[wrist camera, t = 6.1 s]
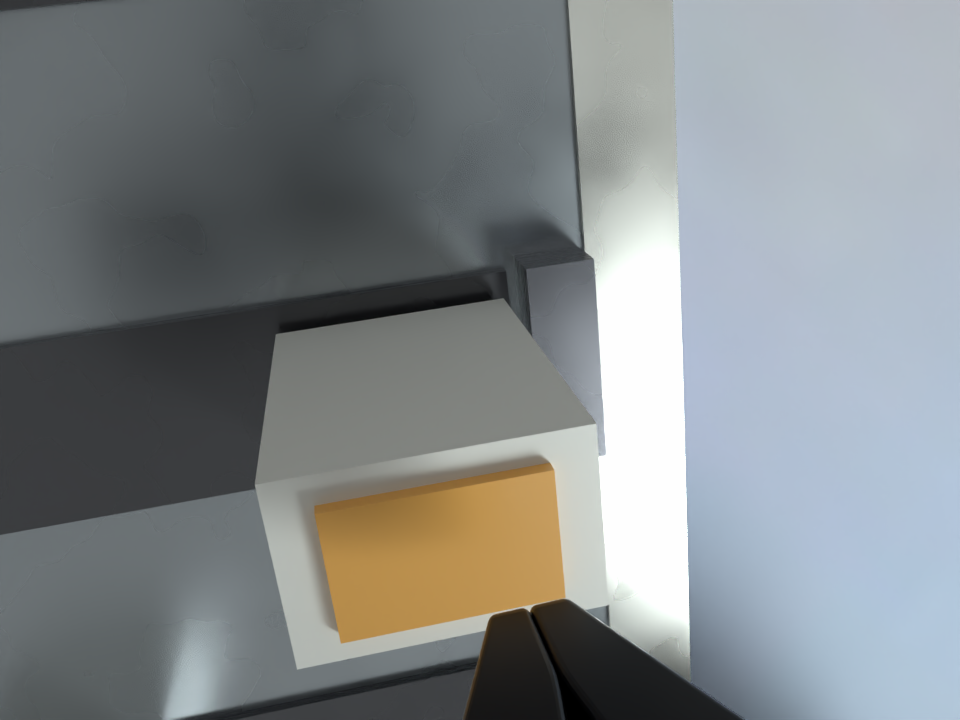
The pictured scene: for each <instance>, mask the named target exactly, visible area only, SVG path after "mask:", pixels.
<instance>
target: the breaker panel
mask: <svg viewBox="0 0 960 720" xmlns="http://www.w3.org/2000/svg"><path fill="white" fill-rule="evenodd" d="M502 298H504V300H505V301H506V302H507V304H508V305H509V306H510V308H511V309H512V310H513V312H514V313H515V314H516V316H517V317H518V318H519V320H520V321H521V323H522V324H523V325H524V327H525V328H526V329H527V331H528V332H529V333H530V335H531V336H532V337H533V339H534V340H535V341H536V343H537V344H538V345H539V347H540V348H541V349H542V351H543V352H544V353H545V355H546V356H547V358H548V359H549V360H550V362H551V363H552V364H553V366H554V367H555V368H556V370H557V371H558V372H559V374H560V375H561V376H562V378H563V379H564V380H565V382H566V383H567V384H568V386H569V387H570V388H571V390H572V391H573V393H574V394H575V395H576V397H577V398H578V399H579V401H580V402H581V403H582V405H583V406H584V407H585V409H586V410H587V411H588V413H589V414H590V415H591V417H592V418H593V419H594V421H595V422H596V423H597V438H598V453H599V468H600V483H601V497H602V512H603V527H604V542H605V557H606V572H607V587H608V602H609V605H607V606H602V607H597V608H593V609H588V610H586V611H587V612H589V613H590V614H591V615H593V616H594V617H596V618H597V619H599V620H600V621H602V622H603V623H605V624H606V625H608V626H609V627H610V628H612V629H613V630H615V631H616V632H618V633H619V634H621V635H622V636H624V637H625V638H627V639H628V640H629V641H631V642H632V643H634V644H635V645H637V646H638V647H640V648H641V649H643V650H644V651H646V652H647V653H648V654H650V655H651V656H653V657H654V658H656V659H657V660H659V661H660V662H662V663H663V664H665V665H666V666H667V667H669V668H670V669H672V670H673V671H675V672H676V673H678V674H679V675H681V676H682V677H684V678H685V679H686V680H688V681H689V682H691V664H690V627H689V590H688V553H687V516H686V478H685V441H684V404H683V367H682V330H681V293H680V255H679V218H678V181H677V144H676V107H675V70H674V32H673V0H0V720H462V719H463V715H464V711H465V707H466V704H467V700H468V696H469V692H470V688H471V685H472V681H473V677H474V673H475V669H476V666H477V662H478V658H479V654H480V650H481V647H482V643H483V639H484V635H485V631H481V632H477V633H472V634H467V635H462V636H457V637H452V638H448V639H443V640H438V641H433V642H428V643H423V644H419V645H414V646H409V647H404V648H399V649H394V650H390V651H385V652H380V653H375V654H370V655H365V656H361V657H356V658H351V659H346V660H341V661H336V662H332V663H327V664H322V665H317V666H312V667H307V668H303V669H298V670H297V667H296V662H295V658H294V653H293V649H292V645H291V640H290V636H289V632H288V627H287V623H286V619H285V614H284V610H283V606H282V601H281V597H280V593H279V588H278V584H277V580H276V575H275V571H274V567H273V562H272V558H271V553H270V549H269V545H268V540H267V536H266V532H265V527H264V523H263V519H262V514H261V510H260V506H259V501H258V497H257V493H256V488H255V479H256V472H257V465H258V458H259V451H260V444H261V436H262V429H263V422H264V415H265V408H266V401H267V394H268V387H269V380H270V373H271V365H272V358H273V351H274V344H275V337H276V334H280V333H287V332H293V331H299V330H306V329H312V328H318V327H325V326H331V325H337V324H344V323H350V322H356V321H363V320H369V319H375V318H382V317H388V316H394V315H401V314H407V313H413V312H420V311H426V310H432V309H439V308H445V307H451V306H458V305H464V304H470V303H477V302H483V301H489V300H496V299H502Z"/></svg>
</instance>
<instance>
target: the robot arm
mask: <svg viewBox="0 0 960 720" xmlns="http://www.w3.org/2000/svg"><path fill="white" fill-rule="evenodd" d="M462 720H745V719H744V718H742V717H741V716H739V715H738V714H736V713H735V712H733V711H732V710H730V709H729V708H727V707H726V706H725V705H723V704H722V703H720V702H719V701H717V700H716V699H714V698H713V697H711V696H710V695H708V694H707V693H705V692H704V691H703V690H701V689H700V688H698V687H697V686H695V685H694V684H692V683H691V682H689V681H688V680H686V679H685V678H684V677H682V676H681V675H679V674H678V673H676V672H675V671H673V670H672V669H670V668H669V667H667V666H666V665H665V664H663V663H662V662H660V661H659V660H657V659H656V658H654V657H653V656H651V655H650V654H648V653H647V652H646V651H644V650H643V649H641V648H640V647H638V646H637V645H635V644H634V643H632V642H631V641H629V640H628V639H627V638H625V637H624V636H622V635H621V634H619V633H618V632H616V631H615V630H613V629H612V628H610V627H609V626H608V625H606V624H605V623H603V622H602V621H600V620H599V619H597V618H596V617H594V616H593V615H591V614H590V613H589V612H587V611H586V610H584V609H583V608H581V607H580V606H578V605H577V604H575V603H574V602H572V601H571V600H569V599H559V600H554V601H550V602H546V603H542V604H537V605H534V606H533V607H532V608H531V610H530V612H529V611H528V610H527V609H524V608H520V609H515V610H511V611H507V612H502V613H498V614H494V615H492V616H491V617H490V619H489V621H488V624H487V628H486V631H485V635H484V639H483V643H482V647H481V650H480V654H479V658H478V662H477V666H476V669H475V673H474V677H473V681H472V685H471V688H470V692H469V696H468V700H467V704H466V707H465V711H464V715H463V719H462Z"/></svg>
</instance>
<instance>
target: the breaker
mask: <svg viewBox="0 0 960 720" xmlns="http://www.w3.org/2000/svg"><path fill="white" fill-rule="evenodd" d="M255 488H256V493H257V497H258V501H259V506H260V510H261V514H262V519H263V523H264V527H265V532H266V536H267V540H268V545H269V549H270V553H271V558H272V562H273V567H274V571H275V575H276V580H277V584H278V588H279V593H280V597H281V601H282V606H283V610H284V614H285V619H286V623H287V627H288V632H289V636H290V640H291V645H292V649H293V653H294V658H295V662H296V667H297V670H298V669H303V668H307V667H312V666H317V665H322V664H327V663H332V662H336V661H341V660H346V659H351V658H356V657H361V656H365V655H370V654H375V653H380V652H385V651H390V650H394V649H399V648H404V647H409V646H414V645H419V644H423V643H428V642H433V641H438V640H443V639H448V638H452V637H457V636H462V635H467V634H472V633H477V632H481V631H486V628H487V624H488V621H489V619H490V617H491V616H492V615H494V614H498V613H502V612H507V611H511V610H515V609H520V608H524V609H527V610H528V611H529V612H530V610H531V608H532V607H533V606H534V605H537V604H542V603H546V602H550V601H554V600H559V599H569V600H571V601H572V602H574V603H575V604H577V605H578V606H580V607H581V608H583V609H584V610H588V609H593V608H597V607H602V606H607V605H609V602H608V587H607V572H606V557H605V542H604V527H603V512H602V497H601V483H600V468H599V453H598V438H597V423H596V422H595V421H594V419H593V418H592V417H591V415H590V414H589V413H588V411H587V410H586V409H585V407H584V406H583V405H582V403H581V402H580V401H579V399H578V398H577V397H576V395H575V394H574V393H573V391H572V390H571V388H570V387H569V386H568V384H567V383H566V382H565V380H564V379H563V378H562V376H561V375H560V374H559V372H558V371H557V370H556V368H555V367H554V366H553V364H552V363H551V362H550V360H549V359H548V358H547V356H546V355H545V353H544V352H543V351H542V349H541V348H540V347H539V345H538V344H537V343H536V341H535V340H534V339H533V337H532V336H531V335H530V333H529V332H528V331H527V329H526V328H525V327H524V325H523V324H522V323H521V321H520V320H519V318H518V317H517V316H516V314H515V313H514V312H513V310H512V309H511V308H510V306H509V305H508V304H507V302H506V301H505V300H504V298H502V299H496V300H489V301H483V302H477V303H470V304H464V305H458V306H451V307H445V308H439V309H432V310H426V311H420V312H413V313H407V314H401V315H394V316H388V317H382V318H375V319H369V320H363V321H356V322H350V323H344V324H337V325H331V326H325V327H318V328H312V329H306V330H299V331H293V332H287V333H280V334H276V337H275V344H274V351H273V358H272V365H271V373H270V380H269V387H268V394H267V401H266V408H265V415H264V422H263V429H262V436H261V444H260V451H259V458H258V465H257V472H256V479H255Z"/></svg>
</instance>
